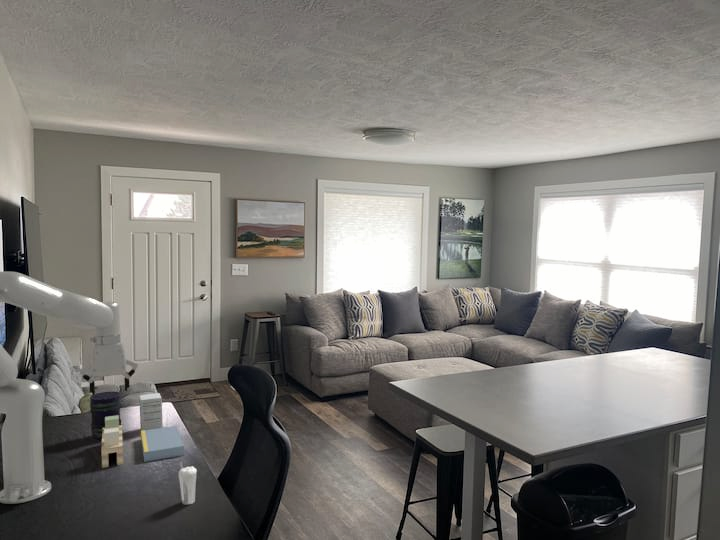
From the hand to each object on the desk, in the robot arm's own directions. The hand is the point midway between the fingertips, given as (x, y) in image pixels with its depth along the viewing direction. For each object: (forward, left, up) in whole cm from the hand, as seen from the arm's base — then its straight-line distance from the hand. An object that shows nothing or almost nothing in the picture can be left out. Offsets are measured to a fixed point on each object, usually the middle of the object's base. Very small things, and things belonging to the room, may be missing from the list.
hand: (110, 392), depth 177 cm
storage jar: (+19, +2, -20) cm, 28 cm away
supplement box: (+19, -13, -20) cm, 31 cm away
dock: (-1, -15, -20) cm, 25 cm away
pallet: (0, 0, -21) cm, 21 cm away
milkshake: (-46, -18, -20) cm, 54 cm away
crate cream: (-7, 0, -15) cm, 16 cm away
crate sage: (+7, 0, -15) cm, 16 cm away
